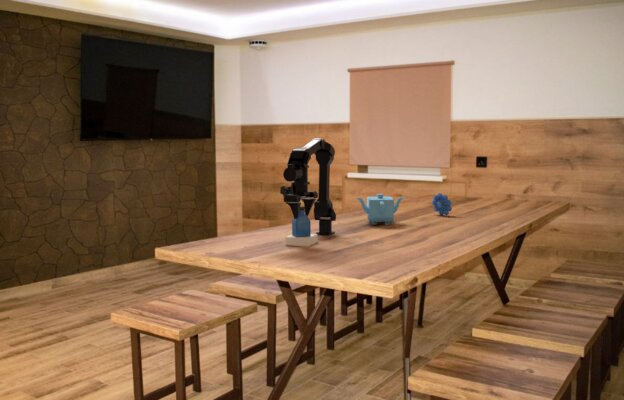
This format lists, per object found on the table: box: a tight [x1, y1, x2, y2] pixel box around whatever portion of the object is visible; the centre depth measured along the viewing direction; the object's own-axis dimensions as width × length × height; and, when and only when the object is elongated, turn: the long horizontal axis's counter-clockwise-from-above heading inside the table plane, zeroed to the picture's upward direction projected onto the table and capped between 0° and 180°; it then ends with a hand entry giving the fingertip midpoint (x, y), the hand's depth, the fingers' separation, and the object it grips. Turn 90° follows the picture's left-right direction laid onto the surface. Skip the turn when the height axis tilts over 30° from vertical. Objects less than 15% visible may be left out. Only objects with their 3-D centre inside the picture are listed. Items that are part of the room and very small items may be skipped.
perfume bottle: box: [291, 206, 312, 237], centre depth 247 cm, size 6×6×12 cm
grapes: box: [431, 192, 453, 216], centre depth 322 cm, size 12×7×12 cm, turn 52°
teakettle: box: [356, 193, 406, 226], centre depth 299 cm, size 19×19×15 cm
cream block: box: [285, 233, 318, 247], centre depth 248 cm, size 10×10×4 cm
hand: (301, 217), depth 247 cm, fingers open, 9 cm apart
